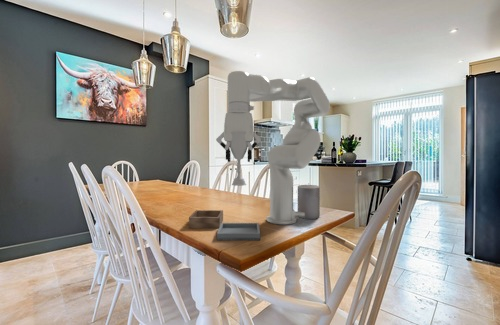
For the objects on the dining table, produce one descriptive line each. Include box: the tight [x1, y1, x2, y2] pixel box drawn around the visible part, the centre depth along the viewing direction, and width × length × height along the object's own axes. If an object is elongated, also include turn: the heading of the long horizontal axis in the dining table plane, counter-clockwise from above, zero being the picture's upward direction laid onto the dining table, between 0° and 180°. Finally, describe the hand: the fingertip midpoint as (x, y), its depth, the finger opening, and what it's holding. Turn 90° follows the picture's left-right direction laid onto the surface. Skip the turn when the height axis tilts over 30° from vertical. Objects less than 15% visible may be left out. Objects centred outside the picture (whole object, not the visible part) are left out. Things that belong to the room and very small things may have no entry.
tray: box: [216, 222, 261, 241], centre depth 83 cm, size 14×12×2 cm
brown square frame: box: [188, 209, 224, 229], centre depth 95 cm, size 12×12×4 cm
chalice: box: [229, 132, 249, 187], centre depth 82 cm, size 7×7×18 cm
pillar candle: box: [297, 183, 321, 220], centre depth 106 cm, size 10×10×15 cm
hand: (238, 161), depth 82 cm, fingers closed on chalice, 6 cm apart
